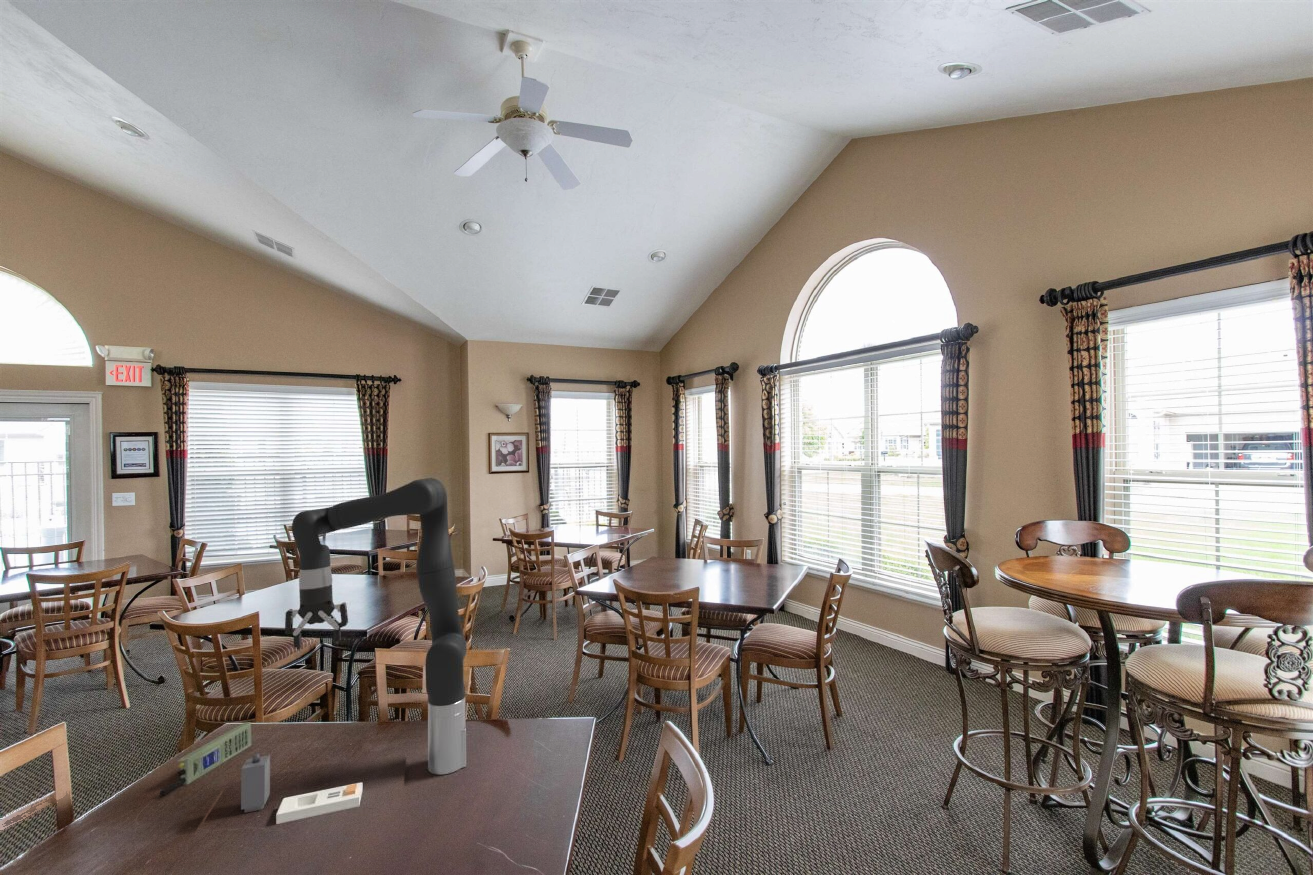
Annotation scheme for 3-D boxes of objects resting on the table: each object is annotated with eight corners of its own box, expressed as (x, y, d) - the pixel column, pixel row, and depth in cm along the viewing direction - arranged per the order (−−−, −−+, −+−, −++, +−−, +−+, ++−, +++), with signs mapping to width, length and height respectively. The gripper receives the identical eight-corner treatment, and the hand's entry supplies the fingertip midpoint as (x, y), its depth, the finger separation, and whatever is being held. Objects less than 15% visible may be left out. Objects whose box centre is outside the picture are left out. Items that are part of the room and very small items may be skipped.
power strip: (390, 791, 136) (390, 773, 136) (388, 806, 130) (388, 787, 130) (283, 813, 128) (283, 794, 128) (276, 831, 122) (276, 810, 122)
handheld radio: (253, 745, 159) (168, 799, 134) (243, 745, 160) (155, 799, 135) (253, 721, 159) (167, 770, 135) (242, 722, 160) (155, 770, 135)
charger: (269, 802, 131) (270, 747, 131) (264, 813, 127) (264, 757, 127) (247, 807, 129) (247, 751, 130) (241, 818, 125) (241, 761, 126)
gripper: (280, 591, 144) (282, 655, 143) (343, 583, 149) (345, 645, 148) (288, 585, 151) (290, 646, 150) (348, 578, 156) (350, 637, 155)
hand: (317, 645), depth 149 cm, fingers open, 8 cm apart
